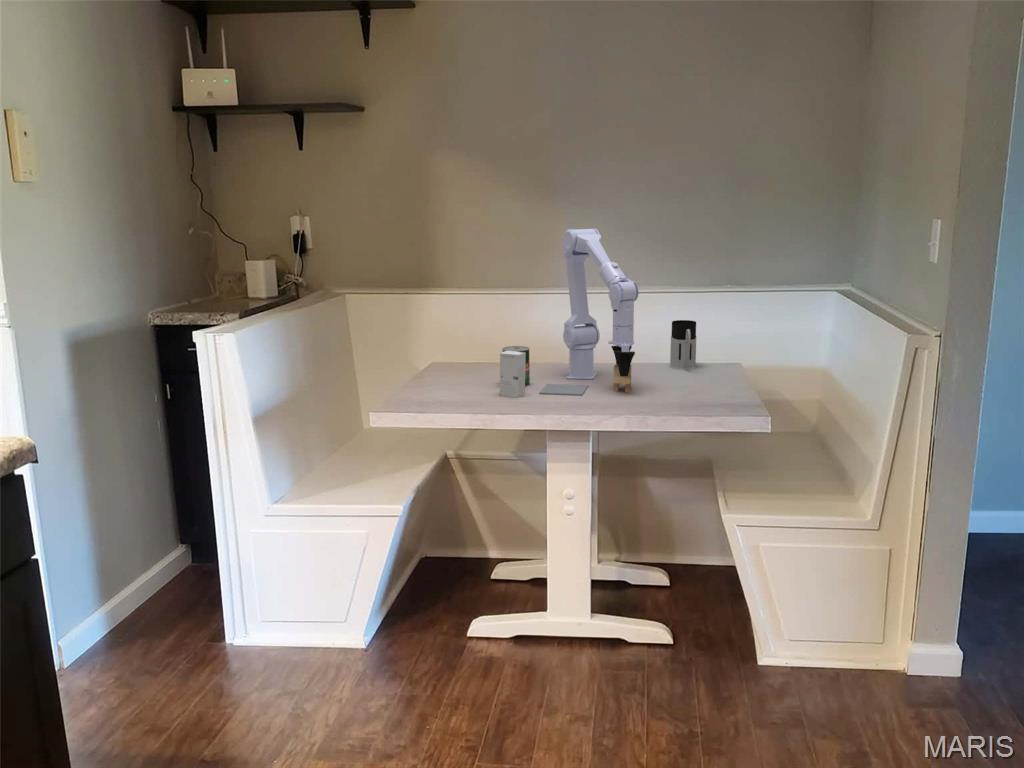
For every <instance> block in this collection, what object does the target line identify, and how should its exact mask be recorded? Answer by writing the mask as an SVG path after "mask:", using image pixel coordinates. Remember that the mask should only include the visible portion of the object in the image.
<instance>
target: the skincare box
mask: <svg viewBox="0 0 1024 768" xmlns="http://www.w3.org/2000/svg"><path fill="white" fill-rule="evenodd" d="M499 359H500V360H499V396H500V397H501V396H502V397H509V398H515V399H517V398H520V397H523V396H525V395H526V387H525V361H526V353H525V352H517V351H505V352H502V351H501V352H500V353H499Z"/></svg>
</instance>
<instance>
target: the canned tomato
mask: <svg viewBox="0 0 1024 768" xmlns="http://www.w3.org/2000/svg"><path fill="white" fill-rule="evenodd" d="M505 351H517V352H525V353H526V361H525V388H526V387H529V386H530V385H531V383H530V377H531V375H530V374H531V373H530V372H531V371H530V347H528V346H524V345H512V346H505V347H502V351H501V353H502V352H505Z"/></svg>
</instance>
